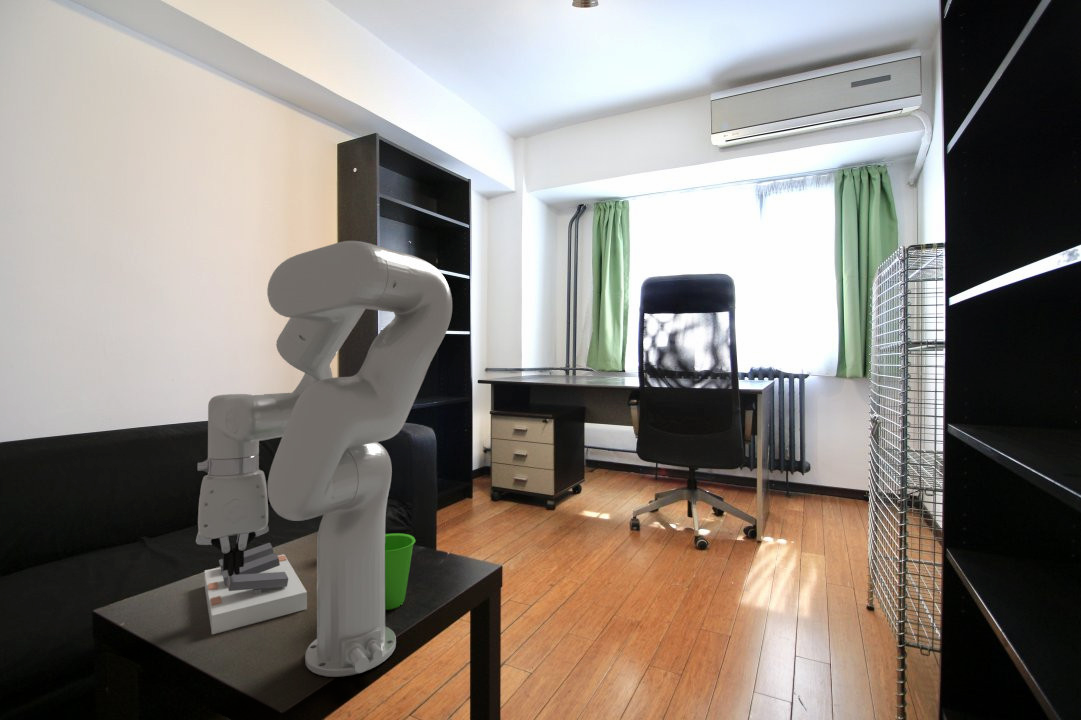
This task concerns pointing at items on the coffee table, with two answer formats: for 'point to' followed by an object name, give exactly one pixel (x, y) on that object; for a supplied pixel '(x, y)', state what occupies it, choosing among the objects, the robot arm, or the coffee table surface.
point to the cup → (397, 568)
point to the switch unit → (252, 599)
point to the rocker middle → (256, 566)
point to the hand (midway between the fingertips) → (233, 572)
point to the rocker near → (257, 581)
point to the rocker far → (254, 553)
